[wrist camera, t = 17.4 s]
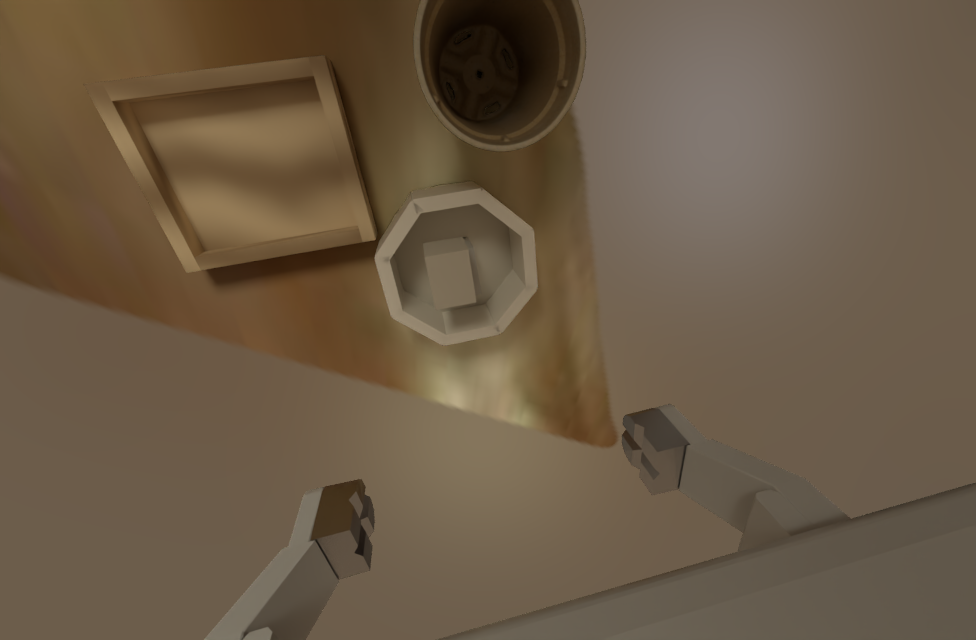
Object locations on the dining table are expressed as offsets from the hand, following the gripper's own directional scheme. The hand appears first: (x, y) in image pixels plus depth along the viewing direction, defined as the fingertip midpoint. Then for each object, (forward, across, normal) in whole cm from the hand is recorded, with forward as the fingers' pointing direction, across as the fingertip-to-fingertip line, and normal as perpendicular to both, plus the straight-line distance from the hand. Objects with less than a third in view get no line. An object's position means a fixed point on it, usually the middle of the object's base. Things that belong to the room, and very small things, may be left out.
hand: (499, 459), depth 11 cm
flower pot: (+24, -5, -12) cm, 28 cm away
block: (+20, 0, 0) cm, 20 cm away
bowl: (+24, -1, +1) cm, 24 cm away
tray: (+24, +12, -8) cm, 28 cm away
